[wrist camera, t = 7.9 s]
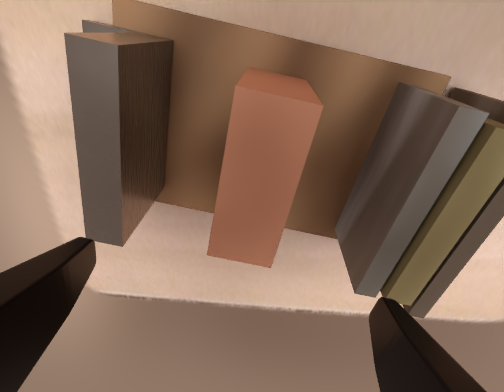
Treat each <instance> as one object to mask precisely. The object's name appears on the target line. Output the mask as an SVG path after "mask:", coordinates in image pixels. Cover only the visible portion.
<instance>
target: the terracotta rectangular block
mask: <svg viewBox="0 0 504 392" xmlns="http://www.w3.org/2000/svg"><path fill="white" fill-rule="evenodd" d="M322 109H323V104H322V103H321V101H320V100H319V98H318V97H317V95H316V94H315V92H314V91H313V89H312V88H311V86H310V85H309V83H308V82H307V80H304V79H299V78H295V77H291V76H287V75H282V74H278V73H274V72H269V71H265V70H261V69H256V68H252V67H248V68H247V70H246V71H245V73H244V74H243V76H242V77H241V78H240V80H239V81H238V83H237V84H236V86H235V91H234V97H233V103H232V109H231V115H230V121H229V127H228V133H227V139H226V145H225V151H224V157H223V163H222V169H221V175H220V181H219V187H218V193H217V199H216V205H215V211H214V217H213V222H212V228H211V234H210V240H209V246H208V252H207V255H209V256H214V257H219V258H224V259H229V260H234V261H239V262H244V263H249V264H254V265H259V266H264V267H269V268H271V266H272V263H273V260H274V257H275V254H276V251H277V248H278V245H279V242H280V239H281V235H282V232H283V229H284V226H285V223H286V220H287V217H288V214H289V211H290V208H291V205H292V202H293V199H294V195H295V192H296V189H297V186H298V183H299V180H300V177H301V174H302V171H303V168H304V165H305V162H306V159H307V155H308V152H309V149H310V146H311V143H312V140H313V137H314V134H315V131H316V128H317V125H318V122H319V119H320V115H321V112H322Z"/></svg>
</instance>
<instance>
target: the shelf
mask: <svg viewBox="0 0 504 392" xmlns="http://www.w3.org/2000/svg"><path fill="white" fill-rule="evenodd" d="M112 10H113V26H115V27H119V28H124V29H128V30H132V31H136V32H141V33H145V34H149V35H153V36H158V37H162V38H166V39H170V40H174V41H173V57H172V73H171V89H170V106H169V122H168V138H167V154H166V171H165V187H164V188H163V190H162V191H161V193H160V194H159V196H158V197H157V198H156V200H155V201H158V202H162V203H167V204H172V205H177V206H182V207H186V208H191V209H196V210H201V211H206V212H210V213H214V211H215V205H216V199H217V193H218V187H219V181H220V175H221V169H222V163H223V157H224V151H225V145H226V139H227V133H228V127H229V121H230V115H231V109H232V103H233V97H234V91H235V86H236V84H237V83H238V81H239V80H240V78H241V77H242V76H243V74H244V73H245V71H246V70H247V68H248V67H252V68H256V69H261V70H265V71H269V72H274V73H278V74H282V75H287V76H291V77H295V78H299V79H304V80H307V82H308V83H309V85H310V86H311V88H312V89H313V91H314V92H315V94H316V95H317V97H318V98H319V100H320V101H321V103H322V104H323V109H322V112H321V115H320V119H319V122H318V125H317V128H316V131H315V134H314V137H313V140H312V143H311V146H310V149H309V152H308V155H307V159H306V162H305V165H304V168H303V171H302V174H301V177H300V180H299V183H298V186H297V189H296V192H295V195H294V199H293V202H292V205H291V208H290V211H289V214H288V217H287V220H286V223H285V226H284V228H287V229H292V230H297V231H301V232H306V233H311V234H316V235H320V236H325V237H330V238H335V239H338V241H339V245H340V248H341V251H342V254H343V257H344V261H345V264H346V267H347V270H348V274H349V277H350V280H351V283H352V287H353V290H354V293H355V294H360V295H365V296H370V297H376V296H377V294H378V293H379V291H381V294H382V296H383V297H386V298H390V299H394V300H396V301H397V302H398V303H399V304H402V305H403V307H404V309H405V310H406V311H407V312H408V313H409V314H410V315H411V316H414V317H419V318H424V317H425V316H426V314H427V313H428V312H429V311H430V309H431V308H432V307H433V306H434V304H435V303H436V302H437V300H438V299H439V298H440V297H441V295H442V294H443V293H444V292H445V290H446V289H447V288H448V286H449V285H450V284H451V283H452V281H453V280H454V279H455V278H456V276H457V275H458V274H459V272H460V271H461V270H462V269H463V267H464V266H465V265H466V263H467V262H468V261H469V260H470V258H471V257H472V256H473V255H474V253H475V252H476V251H477V249H478V248H479V247H480V246H481V244H482V243H483V242H484V241H485V239H486V238H487V237H488V235H489V234H490V233H491V232H492V230H493V229H494V228H495V227H496V225H497V224H498V223H499V221H500V220H501V219H502V218H503V216H504V101H501V100H498V99H495V98H491V97H488V96H485V95H481V94H478V93H475V92H472V91H468V90H464V89H459V88H454V90H453V92H452V93H451V95H450V97H449V98H448V97H445V96H443V95H442V94H443V92H444V90H445V88H446V86H447V84H448V82H449V80H450V78H451V77H450V76H447V75H442V74H438V73H434V72H430V71H426V70H422V69H417V68H413V67H409V66H405V65H401V64H397V63H392V62H388V61H384V60H380V59H376V58H372V57H367V56H363V55H359V54H355V53H351V52H347V51H342V50H338V49H334V48H330V47H326V46H322V45H317V44H313V43H309V42H305V41H301V40H297V39H293V38H288V37H284V36H280V35H276V34H272V33H268V32H263V31H259V30H255V29H251V28H247V27H243V26H238V25H234V24H230V23H226V22H222V21H218V20H213V19H209V18H205V17H201V16H197V15H193V14H188V13H184V12H180V11H176V10H172V9H168V8H163V7H159V6H155V5H151V4H147V3H143V2H138V1H134V0H112Z"/></svg>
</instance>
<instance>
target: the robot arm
mask: <svg viewBox="0 0 504 392" xmlns="http://www.w3.org/2000/svg"><path fill="white" fill-rule="evenodd" d="M95 264H96V250H95V242H94V240H92V239H89V238H84V237H78V238H76V239H73V240H71V241H69V242H67V243H65V244H62V245H60V246H58V247H56V248H54V249H52V250H49V251H47V252H45V253H43V254H41V255H39V256H36V257H34V258H32V259H30V260H28V261H25V262H23V263H21V264H19V265H17V266H15V267H12V268H10V269H8V270H6V271H4V272H1V273H0V392H17V391H18V390H19V388H20V387H21V385H22V384H23V382H24V381H25V379H26V378H27V376H28V375H29V373H30V372H31V370H32V369H33V367H34V366H35V364H36V363H37V361H38V360H39V359H40V357H41V356H42V354H43V352H44V351H45V349H46V348H47V346H48V345H49V344H50V342H51V341H52V339H53V338H54V336H55V334H56V333H57V332H58V330H59V329H60V327H61V326H62V324H63V323H64V321H65V320H66V318H67V317H68V315H69V314H70V312H71V310H72V308H73V307H74V304H75V303H76V301H77V299H78V297H79V295H80V293H81V291H82V290H83V288H84V286H85V284H86V282H87V280H88V278H89V276H90V274H91V273H92V271H93V269H94V267H95ZM369 326H370V333H371V341H372V349H373V356H374V363H375V370H376V374H377V378H378V383H379V387H380V392H486V391H485V390H484V389H483V388H482V387H481V386H480V385H479V384H478V383H477V382H476V381H475V380H474V379H473V378H472V377H471V376H470V375H469V374H468V373H467V372H466V371H465V370H464V369H463V368H462V367H461V366H460V365H459V364H458V363H457V362H456V361H455V360H454V358H453V357H451V355H450V354H448V353H447V351H446V350H445V349H443V347H441V346H440V344H439V343H438V342H436V340H435V339H433V337H432V336H431V335H429V333H428V332H426V330H425V329H423V328H422V326H421V325H420V324H419V323H418V322H417V321H416V320H415V319H414V318H413V317H412V316H411V315H410V314H409V313H408V312H407V311H406V310H405V309H404V308H403V307H402V306H401V305H400V304H399V303H398V302H397V301H396V300H394V299H390V298H386V297H381V298H379V299H378V301H377V303H376V304H375V306H374V307H373V309H372V311H371V312H370V315H369Z"/></svg>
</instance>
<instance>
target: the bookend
mask: <svg viewBox="0 0 504 392" xmlns="http://www.w3.org/2000/svg"><path fill="white" fill-rule="evenodd" d="M82 27H83V33H64V36H65V46H66V55H67V64H68V74H69V83H70V93H71V102H72V112H73V121H74V130H75V140H76V149H77V159H78V168H79V178H80V187H81V197H82V206H83V215H84V225H85V234H86V238H89V239H92V240H94V241H97V242H102V243H107V244H112V245H117V246H122V247H123V246H124V244H125V243H126V241H127V240H128V238H129V237H130V236H131V234H132V233H133V231H134V230H135V228H136V227H137V226H138V224H139V223H140V221H141V220H142V218H143V217H144V216H145V214H146V213H147V211H148V210H149V208H150V207H151V206H152V204H153V203H154V201H155V200H156V198H157V197H158V196H159V194H160V193H161V191H162V190H163V188H164V187H165V171H166V154H167V138H168V122H169V106H170V89H171V73H172V57H173V41H174V40H170V39H166V38H162V37H158V36H153V35H149V34H145V33H141V32H136V31H132V30H128V29H124V28H119V27H115V26H111V25H107V24H102V23H98V22H94V21H90V20H82Z"/></svg>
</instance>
